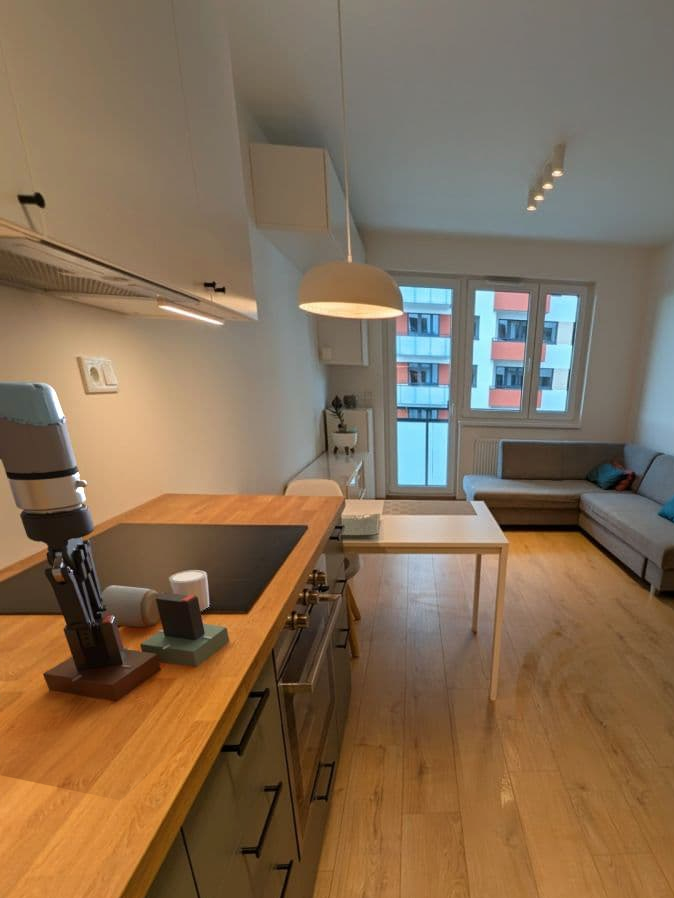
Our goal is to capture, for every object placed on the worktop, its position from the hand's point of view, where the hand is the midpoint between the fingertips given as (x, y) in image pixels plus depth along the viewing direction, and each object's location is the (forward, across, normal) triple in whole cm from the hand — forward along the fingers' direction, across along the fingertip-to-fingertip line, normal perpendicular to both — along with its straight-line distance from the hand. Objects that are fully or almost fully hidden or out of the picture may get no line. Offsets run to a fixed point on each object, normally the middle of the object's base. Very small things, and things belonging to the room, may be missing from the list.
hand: (100, 657), depth 78 cm
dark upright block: (+1, +6, -11) cm, 13 cm away
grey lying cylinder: (+4, +20, -2) cm, 21 cm away
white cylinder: (+4, +24, -11) cm, 27 cm away
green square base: (+4, +6, -11) cm, 13 cm away
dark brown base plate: (+4, 0, 0) cm, 4 cm away
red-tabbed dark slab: (+1, 0, 0) cm, 1 cm away
